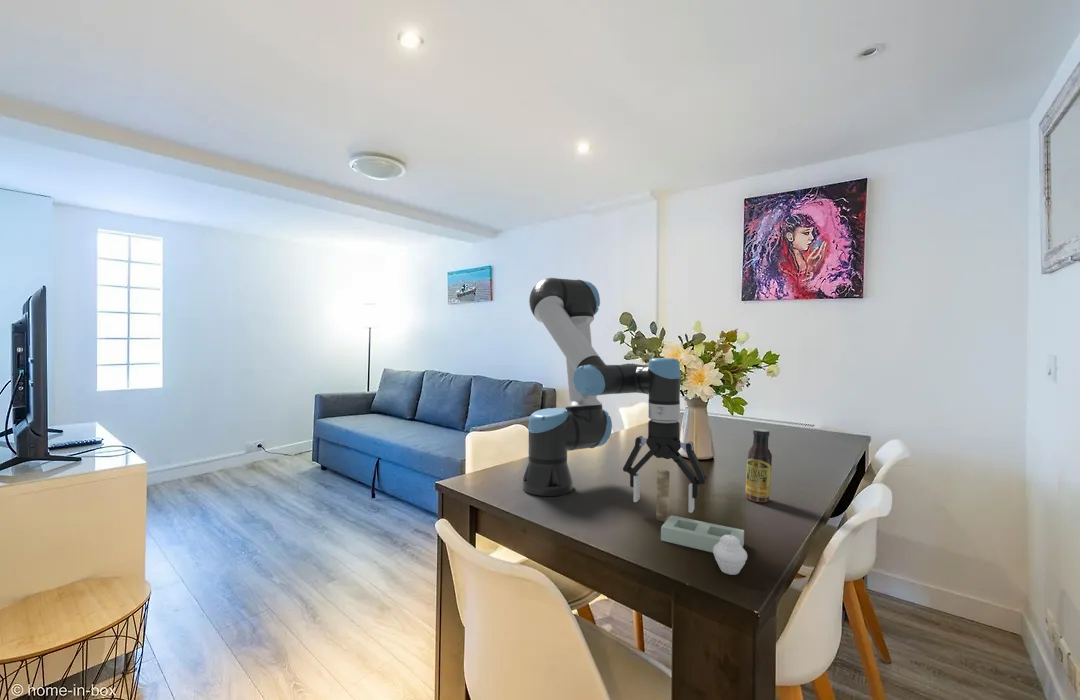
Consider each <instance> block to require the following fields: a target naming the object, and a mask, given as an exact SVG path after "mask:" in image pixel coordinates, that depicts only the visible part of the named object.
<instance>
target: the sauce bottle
mask: <svg viewBox="0 0 1080 700" xmlns="http://www.w3.org/2000/svg"><path fill="white" fill-rule="evenodd" d="M752 434H753V442H752V445H751V447H750V449H749V450H748V455H747V460H746V461H747V462H746V477H745V498H746V499H747V500H749V501H751V502H754V503H760V504H763V503H764V504H765V503H767V502H770V497H771V484H772V481H771V480H772V469H773V468H772V467H773V463H772V461H773V460H772V459H773V455H772V453H771V451H770V449H769V436H770V430H769V429H764V428H753V430H752Z"/></svg>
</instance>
